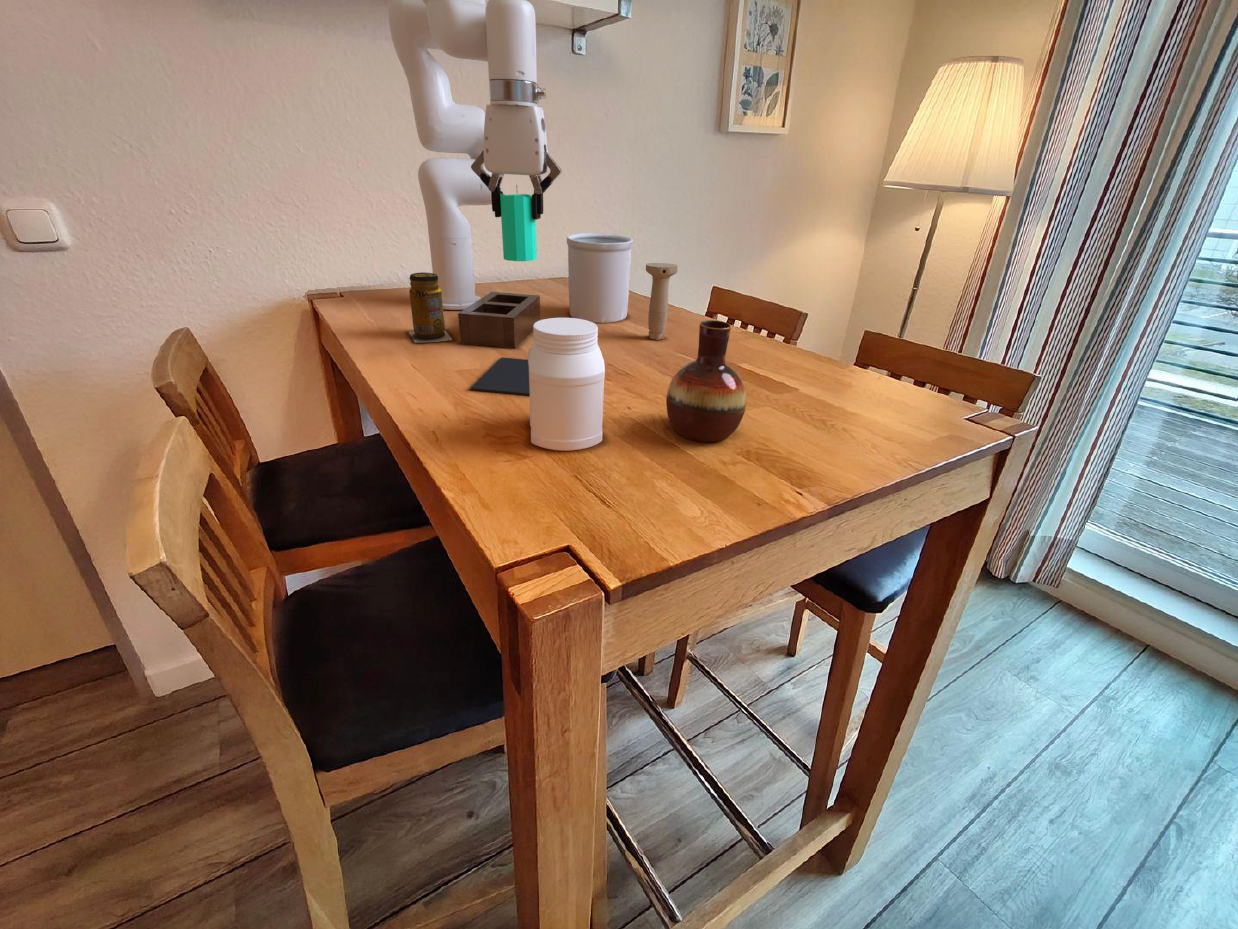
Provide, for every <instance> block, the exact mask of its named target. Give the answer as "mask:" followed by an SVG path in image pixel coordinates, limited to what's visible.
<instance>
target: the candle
mask: <svg viewBox="0 0 1238 929" xmlns="http://www.w3.org/2000/svg"><path fill="white" fill-rule="evenodd" d="M516 189H518V184H516ZM518 193H519V192H518V190H516V194H505V193H503V194H500V205H501V217H500V220H501V238H502V254H503V260H505V261H508V262H533V261H536V260H538V254H537V253H538V252H537V225H536V222H537V221H536V220H535V219H533V218H532V194H529V193H526V194H525V193H523V194H518Z"/></svg>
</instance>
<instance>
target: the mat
mask: <svg viewBox="0 0 1238 929" xmlns="http://www.w3.org/2000/svg"><path fill="white" fill-rule="evenodd" d="M470 391H475V392H484V393H485V392H486V393H497V394H508V395H517V396H529V397H530V390H529V365H528V359H523V358H513V357H500V358H499V359H498V360H497V361H496V362H495V363H494V364H493V365H492V366H491V367H490V368H489V369H488V370H487V371H486V372H485V373H484V374H483V375H482V376H481V377H480V378H479V379H478V380H477V381H476V382H475V383H474V384H473V386H471V387H470Z"/></svg>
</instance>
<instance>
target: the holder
mask: <svg viewBox="0 0 1238 929" xmlns="http://www.w3.org/2000/svg"><path fill="white" fill-rule="evenodd" d="M480 298H481V299H480V300H478V301H476V302H475V303H473V304H472V305H470V306H469V307H467V308H466V309H464V310H460V311H459V312H458V313H457V319H458V329H459V330H458V331H459V342H460V345H471V346H480V347H481V346H482V347H494V348H503V349H504V348H507V349H516V348H517V347H518V346H519V345H520V344H521V343H522V342H524V340H525V339H527V337H528V336H529V335H530V334H531V333H532V332H533V325H534V324H535V323H536V322H538V321H540V320H541V295H539V294H525V293H512V292H501V291H500V292H499V291H490V292H489V293H487V294H485V295H484V296H483V297H480Z"/></svg>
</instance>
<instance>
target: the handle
mask: <svg viewBox="0 0 1238 929" xmlns="http://www.w3.org/2000/svg"><path fill="white" fill-rule="evenodd" d="M678 270H679V265H678V264H676V263H669V262H668V263H667V262H649V263H646V264H645V272H646V273H648V274H649V275H651V277H652V278H651V279H652V282H651V292H650V298H649V306H648V318H647V319H648V321H647V323H648V326H647V327H648V338H649V339H650V340H655V341H660V340H663V339H664V338H665V331H666V328H667V324H668V316H669V315H668V314H669V288H670V286H669V285H670V279H671V277H673V276H674V275H676V274H677V273H678Z"/></svg>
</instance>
